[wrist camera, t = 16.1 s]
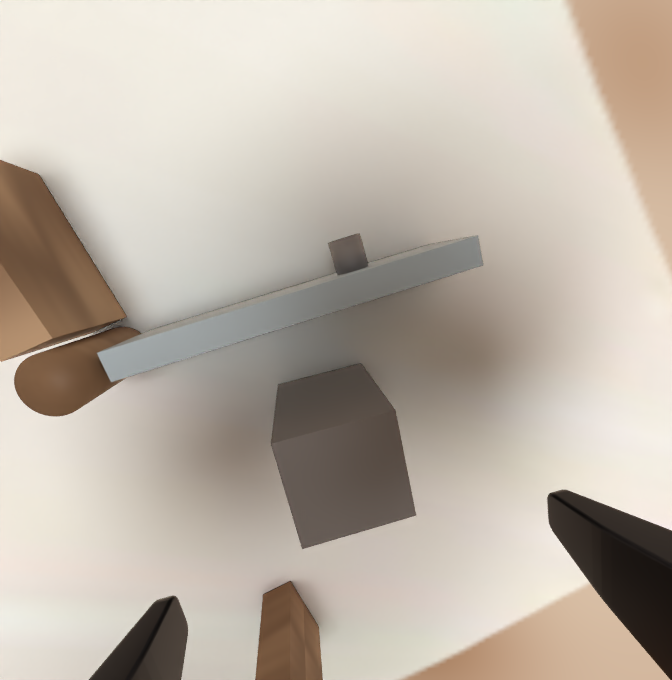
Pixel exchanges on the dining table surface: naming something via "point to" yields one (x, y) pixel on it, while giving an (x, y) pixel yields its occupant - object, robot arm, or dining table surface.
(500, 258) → the dining table surface
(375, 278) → the door
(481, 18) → the dining table surface
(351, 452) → the block
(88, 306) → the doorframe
